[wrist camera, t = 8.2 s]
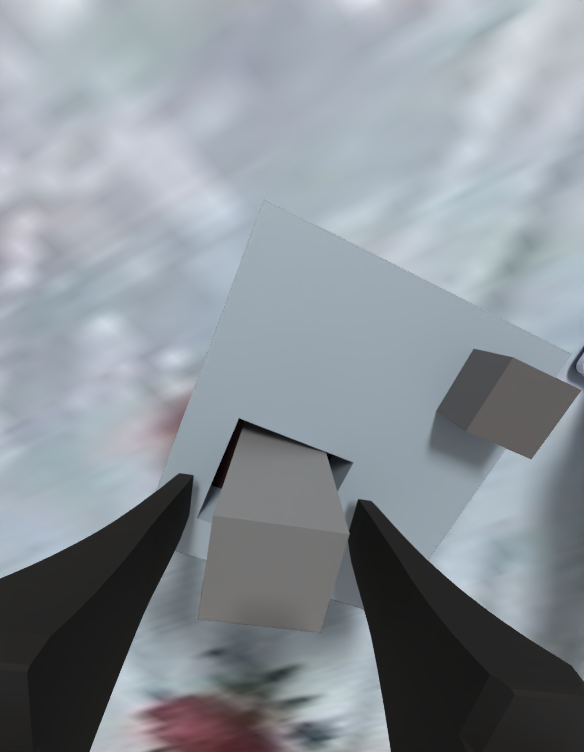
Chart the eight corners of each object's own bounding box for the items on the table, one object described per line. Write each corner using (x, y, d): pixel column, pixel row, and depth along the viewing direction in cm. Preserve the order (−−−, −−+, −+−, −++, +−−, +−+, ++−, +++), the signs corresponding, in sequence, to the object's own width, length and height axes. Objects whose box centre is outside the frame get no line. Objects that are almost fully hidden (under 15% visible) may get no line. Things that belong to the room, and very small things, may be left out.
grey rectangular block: (319, 429, 15) (349, 534, 8) (304, 491, 16) (320, 632, 9) (246, 416, 14) (213, 515, 8) (235, 481, 15) (198, 619, 9)
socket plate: (521, 345, 14) (631, 363, 9) (374, 573, 17) (404, 663, 13) (267, 220, 12) (258, 171, 8) (161, 502, 16) (113, 579, 11)
